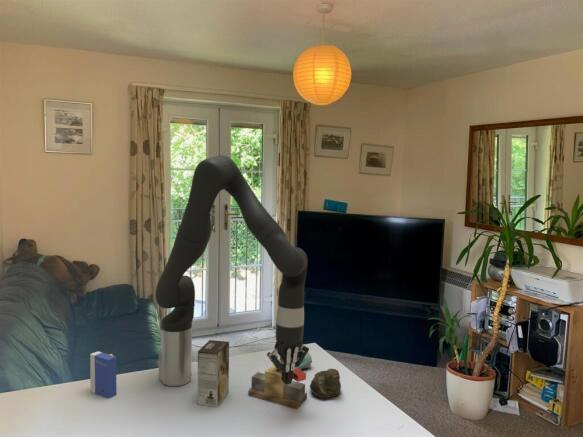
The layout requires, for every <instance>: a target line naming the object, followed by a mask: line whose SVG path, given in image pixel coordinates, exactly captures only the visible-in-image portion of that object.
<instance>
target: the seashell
mask: <svg viewBox="0 0 583 437" xmlns="http://www.w3.org/2000/svg"><path fill="white" fill-rule="evenodd" d="M340 380H341V375H340V372H339V370H337V369H336V368H329V369H326V370H320V371H318V372H316V373H315V374H314V377H313V379H312V380H311V381H310V385H309V389H310V390H311V393H312V394H313V395H314V396H316V397H318V398H321V399H323V398H333V397H335V396H339V395H340V393H341V391H342V385H341V384H342V383H341V381H340Z"/></svg>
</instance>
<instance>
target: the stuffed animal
mask: <svg viewBox="0 0 583 437" xmlns="http://www.w3.org/2000/svg"><path fill="white" fill-rule="evenodd" d="M298 359H299V358H298ZM278 360H280V358H278ZM297 361H298V360H297ZM312 362H313V359H312V355H311V354H310V353H309V352H308V353H307V354H306V356H305V358H304V359H303V361H302V363H301V364H300V366H299V367H295V369H296V368H298V369H300V370H305V369H308V368H310V367H311V365H312Z"/></svg>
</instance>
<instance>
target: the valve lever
mask: <svg viewBox="0 0 583 437" xmlns="http://www.w3.org/2000/svg"><path fill="white" fill-rule="evenodd" d="M279 361H280V360H279ZM280 363H281V361H280ZM276 370H277V371H280V370H279V369H278V368H276ZM306 380H307V373H306V372H305V371H303V369H301V370H300V369H298V368H296V369H295V368H294V370H293V381H295V382H299V383H301V382H302V381H303V382H304V381H306Z"/></svg>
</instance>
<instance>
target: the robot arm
mask: <svg viewBox="0 0 583 437" xmlns="http://www.w3.org/2000/svg"><path fill="white" fill-rule="evenodd" d="M223 190H225V191H226V192H227V193H228V194H229V195H230V197H232V199H234V201H235V203H236V204H237V206H238V207H239V210H240V212H241V215H242V216H241V217H242V219H243V221H244V223H245V225H246V227H247V229H248V230H249V232H250V233H251V235H252V236H253V237H254V239H256V241H257V242H259V244H260V245H261V246H262V247H263V248H264V249H265V251H266V253H267V255H268V256H269V258H270V259H271V261H272V263H273V264H274V266H275V268H276V269H277V270H278V271H279V272H280V273H281V274H282V275H281V282H280V285H279V287H278V295H277V296H278V297H277V309H276V319H275V320H276V321H275V340H276V341H275V344H274V349H273V350H272V351H271V352H270V351H269V352H267V353H266V356H267V357H268V359H269V360H270V362H271V363H272V364H273V365H275V367H276V368H278V369H279V370H281V371H282V377H281V380H282V381H283V383H285V384H286V385H287V384H290V383H291V381H294V379H293V370H294V368H295V367H299V366H300V364H301V363H302V361H303V359H304V358H305V356H306V354H307V353H309V351H310V348H309V347H308V346H306V345H304V343H303V339H304V328H305V327H304V325H305V283H306V279H307V273H308V256H307V253H306V252H305V251H304V250H303V249H302V248H300V247H297V246H293V245H292V244H291V243H290V242H289V240H288V239H287V235H286V233H285V230H284V229H283V228H282V227H281V226H280V224H279V223H277V221H276V220H275V219H274V217H273V216H272V215H271V214H270V213H269V212H268V211H267V209H266V208H265V207H264V205H263V204H262V203H261V201H260V200H259V198H258V197H257V196H256V194H255V192H254V191H253V189H252V188H251V186H250V184H249V183H248V181H247V180H246V178H245V177H244V175H243V173H242V172H241V170H240V168H239V167H238V165H237V164H236V163H235V161H234V160H233V159H232V158H230V157H229V156H227V155H216V156H210V157H208V158H205V159H202V160H201V161H199V162H198V164H197V165H196V168H194V172H193V177H192V182H191V185H190V191H189V196H188V200H187V203H186V206H185V209H184V212H183V215H182V218H181V221H180V224H179V227H178V229H177V232H176V236H175V239H174V242H173V245H172V249H171V251H170V254H169V256H168V259H167V262H166V264H165V266H164V268H163V271H162V273H161V274H160V277H159V278H158V281H157V284H156V287H155V302H156V304H157V305H158V306H159V307H160V308H162V309H165V310H166V309H172V311H171V312H169V313H168V314H167V315H165V316H163V318H162V319H161V339H160V340H161V346H160V347H161V349H160V350H159V351H158V380H159V382H161V383H162V384H163V385H165V386H168V387H179V386H185V385H186V384H188V383H190V382H191V381H192V364H193V363H192V359H193V358H192V356H193V355H192V351H193V350H192V348H193V347H192V346H193V345H192V343H193V342H192V340H193V338H192V337H193V333H192V332H193V330H192V329H193V321H194V316H195V303H196V302H195V301H196V300H195V299H196V289H195V284H194V281H193V279H192V278H191V277H190V276H189V275H185V273H187V271H188V270H189V269H190V268H191V267H192V266H193V265H194V264H195V263H196V262H197V261H198V260H199V259H200V258H201V257H202V256H203V254H204V253H205V251H206V249H207V247H208V243H209V241H210V239H211V237H212V236H211V235H212V231H213V230H212V229H213V226H212V220H211V212H212V209H213V206H214V204H215V201H216V198H217V197H218V195H219V193H220V192H221V191H223ZM298 358H299V359H298ZM278 359H280V361H281V363H280V361H279V360H278ZM297 360H298V361H297Z"/></svg>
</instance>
